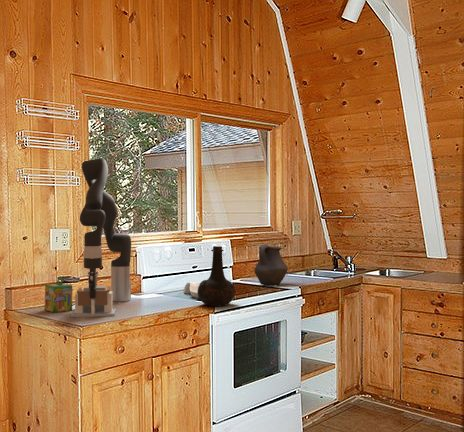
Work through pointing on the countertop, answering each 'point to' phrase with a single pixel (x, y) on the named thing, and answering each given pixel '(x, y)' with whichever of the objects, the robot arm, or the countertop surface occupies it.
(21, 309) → the countertop surface
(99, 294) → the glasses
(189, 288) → the spoon rest
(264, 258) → the pitcher
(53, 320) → the countertop surface
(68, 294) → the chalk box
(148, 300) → the countertop surface
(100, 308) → the display stand
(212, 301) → the glass bottle
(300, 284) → the countertop surface
